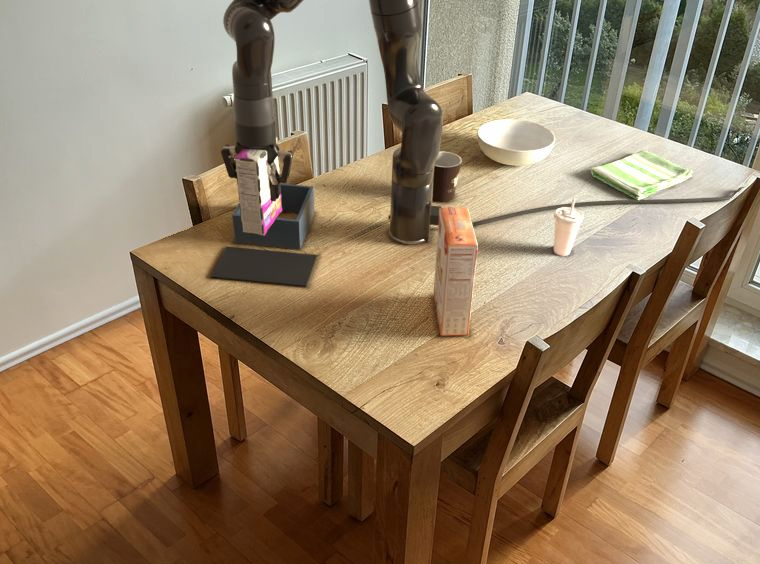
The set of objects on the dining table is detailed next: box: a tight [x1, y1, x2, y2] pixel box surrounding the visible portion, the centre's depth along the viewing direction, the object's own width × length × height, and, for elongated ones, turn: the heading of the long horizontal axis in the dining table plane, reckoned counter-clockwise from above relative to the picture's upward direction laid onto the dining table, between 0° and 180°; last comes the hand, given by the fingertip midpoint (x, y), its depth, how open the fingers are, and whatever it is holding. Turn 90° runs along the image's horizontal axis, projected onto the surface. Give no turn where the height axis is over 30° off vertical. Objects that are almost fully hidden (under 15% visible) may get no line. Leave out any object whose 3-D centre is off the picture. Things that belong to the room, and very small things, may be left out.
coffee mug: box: [433, 150, 463, 204], centre depth 198 cm, size 12×9×10 cm
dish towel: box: [590, 149, 694, 200], centre depth 214 cm, size 18×23×3 cm
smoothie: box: [553, 196, 584, 257], centre depth 178 cm, size 6×6×14 cm
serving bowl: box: [476, 118, 556, 167], centre depth 218 cm, size 21×21×7 cm
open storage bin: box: [231, 183, 315, 250], centre depth 182 cm, size 15×17×7 cm
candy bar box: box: [234, 136, 282, 236], centre depth 159 cm, size 11×5×16 cm, turn 168°
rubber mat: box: [210, 246, 318, 288], centre depth 171 cm, size 20×12×1 cm, turn 85°
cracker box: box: [433, 206, 479, 337], centre depth 154 cm, size 14×6×21 cm, turn 5°
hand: (260, 197), depth 161 cm, fingers closed on candy bar box, 5 cm apart
